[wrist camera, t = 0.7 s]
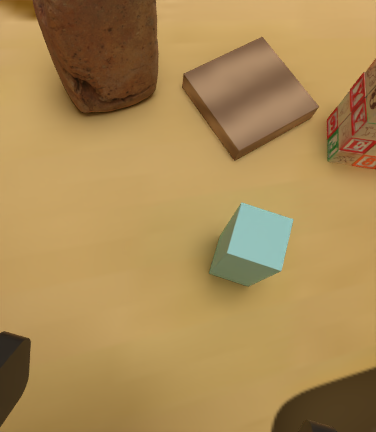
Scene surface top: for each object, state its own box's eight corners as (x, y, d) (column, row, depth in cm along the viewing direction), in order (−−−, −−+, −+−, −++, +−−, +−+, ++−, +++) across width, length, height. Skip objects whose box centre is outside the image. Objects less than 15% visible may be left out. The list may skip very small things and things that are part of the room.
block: (140, 54, 46) (126, -135, 27) (163, 99, 45) (165, -70, 26) (59, 79, 44) (-16, -106, 25) (80, 128, 43) (16, -33, 24)
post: (208, 273, 39) (227, 252, 28) (220, 235, 40) (241, 202, 29) (248, 286, 38) (281, 270, 28) (258, 247, 40) (293, 219, 29)
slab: (182, 89, 46) (183, 73, 43) (256, 53, 49) (262, 36, 46) (233, 162, 43) (239, 150, 40) (309, 120, 46) (319, 106, 43)
